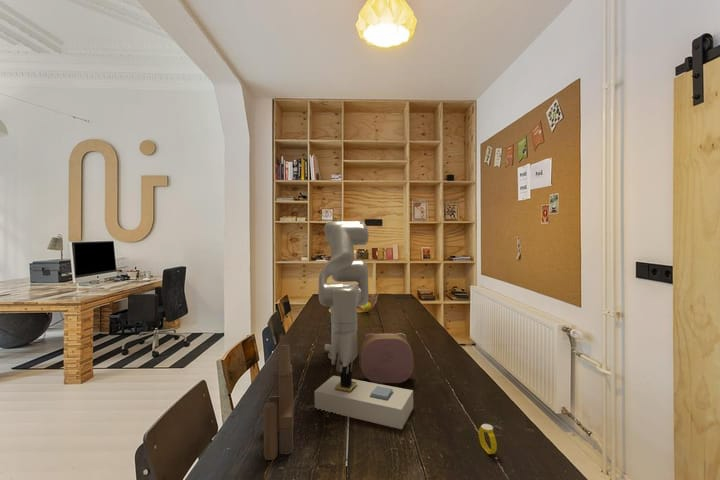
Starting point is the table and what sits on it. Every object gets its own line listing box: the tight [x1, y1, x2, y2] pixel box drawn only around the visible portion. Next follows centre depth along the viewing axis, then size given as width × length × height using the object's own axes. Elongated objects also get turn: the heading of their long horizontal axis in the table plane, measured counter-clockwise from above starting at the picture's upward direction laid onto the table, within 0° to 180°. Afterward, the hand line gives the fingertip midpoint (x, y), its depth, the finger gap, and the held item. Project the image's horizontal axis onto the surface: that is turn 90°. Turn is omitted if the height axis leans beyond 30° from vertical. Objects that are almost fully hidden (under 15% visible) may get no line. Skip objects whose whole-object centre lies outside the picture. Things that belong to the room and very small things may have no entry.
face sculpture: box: [358, 332, 414, 384], centre depth 120 cm, size 20×7×17 cm, turn 92°
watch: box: [478, 423, 498, 455], centre depth 81 cm, size 6×3×6 cm, turn 10°
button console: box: [314, 375, 414, 430], centre depth 101 cm, size 28×12×6 cm, turn 66°
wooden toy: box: [262, 344, 295, 461], centre depth 86 cm, size 16×7×25 cm, turn 10°
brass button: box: [336, 381, 357, 393], centre depth 104 cm, size 5×5×3 cm
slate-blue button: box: [371, 386, 392, 401], centre depth 99 cm, size 5×5×3 cm
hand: (346, 384), depth 103 cm, fingers closed
